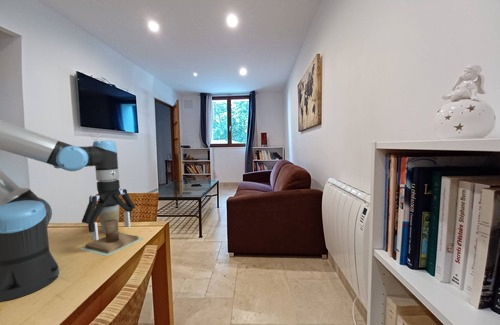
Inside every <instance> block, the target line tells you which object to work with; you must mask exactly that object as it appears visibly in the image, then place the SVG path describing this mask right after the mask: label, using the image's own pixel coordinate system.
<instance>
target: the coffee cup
mask: <svg viewBox="0 0 500 325" xmlns="http://www.w3.org/2000/svg"><path fill="white" fill-rule="evenodd" d="M98 202H99V200H98V201H97V203H98ZM97 203H96V206H97ZM102 204H103V203H102ZM96 206H95V207H96ZM98 217H99V221H100V222H99V223H100V225H101V229H102V230H101V231H102V233H103V234H106V233H105V221H108V220H112V219H117V220H118V222H120V205H118V204H117V203H116V202H115V203H111V204H108V205H106V206H105V207H104V208H103V209H102V211H101V213H100V214H99V216H98Z"/></svg>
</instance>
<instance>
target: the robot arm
mask: <svg viewBox="0 0 500 325" xmlns="http://www.w3.org/2000/svg"><path fill="white" fill-rule="evenodd" d="M0 151H3V152H7V153H9V154H13V155H17V156H20V157H24V158H27V159H31V160H34V161H37V162H38V161H39V162H40V163H41V162H42V163H45V164H48V165H50V166H53V168H55V169H62V170H64V171H68V172H77V171H80V170H82V169H83V168H85V167H95V169H94V170H95V180H96V181H97V182H96V190H97V192H98V194H97V195H89V197H88V200H89V201H88V203H87V207H86V210H85V211H84V214H83V217H82V219H81V223H82V224H87V226H88V228H87V229H88V232H89V233H90V235H91V240H93V241H96V240H99V239H100V238H99V229H98V222H96V220H97V219H98V217H99V214H100V213H101V211H102V209H103V208H104V207H105V206H106V205H108V204H111V203H115V202H116V203H117V204H118V205H119V207H121V208H122V209H123V211H122V213H123V225H124V227H125V228H126V227H127V228H131V218H132V212H133V209H135V204H134V203H133V201H132V199H131V198H130V196H129V194H128V190H127V189H126V188H121V187H120V180H119V178H120V177H119V176H120V174H119V163H118V162H119V161H118V159H119V158H118V149H117V144H116V142H115V141H113V140H94V141H93V142H92V145H89V146H76V145H73V144H69V143H67V142H63V141H62V140H61V141H60V140H58V139H55V138H52V137H49V136H46V135H44V134H40V133H38V132H35V131H33V130H30V129H27V128H24V127H22V126H18V125H15V124H12V123H10V122H7V121H5V120H1V119H0ZM120 188H121V189H120ZM120 196H121V197H120ZM98 201H99V202H98ZM102 203H103V204H102ZM96 204H97V206H96ZM51 207H52V206H51V205H50V204H49V202H48V201H46V200H45V199H43V198H41V197H38V196H37V194H35V193H34V192H33V191H32V190H31V189H30V188H27V187H20V186H18V185H17V183H15V182H14V180H13V179H11V178H10V177H9V176H8V175H7V174H6V173H5V172H4V171H3V170H1V169H0V302H6V301H11V300H14V299H18V298H21V297H24V296H27V295H30V294H33V293H35V292H38V291H39V290H42V289H43V288H45V287H47V286H48V285H50V284H52V283H53V282H54V281H55V280H57V279H58V278H59V275H60V267H59V264H58V263H57V261H56V259H55V258H54V256H53V255H52V253H51V251H50V242H49V233H48V232H49V231H48V226H49V223H50V222H51V220H52V216H53V210H52V208H51Z"/></svg>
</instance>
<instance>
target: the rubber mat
mask: <svg viewBox="0 0 500 325" xmlns="http://www.w3.org/2000/svg"><path fill="white" fill-rule="evenodd" d="M144 239H145V238H144V237H139V236H138V240H136V241H134V242H132V243H129V244H127V245H125V246H123V247H121V248H119V249H117V250H115V251H113V252H111V253H109V254H108V253H104V252H100V251H96V250H92V249H88V248H85V246H83V247H81V248H79V250H81V251H85V252H89V253H92V254H96V255H101V256H105V257H109V256H110V255H113V254H115V253H117V252H119V251H122V250H123V249H125V248H127V247H129V246H131V245H134V244H135V243H137V242H139V241H141V240H144Z"/></svg>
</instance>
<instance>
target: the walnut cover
mask: <svg viewBox="0 0 500 325" xmlns="http://www.w3.org/2000/svg"><path fill="white" fill-rule="evenodd" d="M104 234H105V236H104V237H102V238H101V237H100V238H99V240H93V241H92V242H89V243H87V244H85V245H84V247H85V248H88V249H92V250H96V251H100V252H104V253H108V254H109V253H111V252H113V251H115V250H117V249H119V248H121V247H123V246H125V245H127V244H129V243H132V242H134V241H136V240H138V237H139V235H138V236H137V235H133V234H126V233H123V232H119V221H118V220H117V219H112V220H108V221H105V233H104Z"/></svg>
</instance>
